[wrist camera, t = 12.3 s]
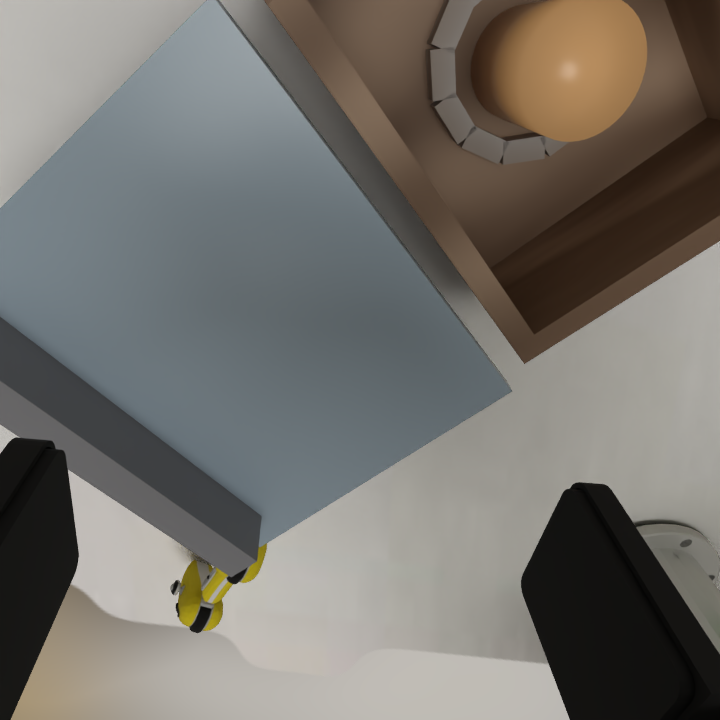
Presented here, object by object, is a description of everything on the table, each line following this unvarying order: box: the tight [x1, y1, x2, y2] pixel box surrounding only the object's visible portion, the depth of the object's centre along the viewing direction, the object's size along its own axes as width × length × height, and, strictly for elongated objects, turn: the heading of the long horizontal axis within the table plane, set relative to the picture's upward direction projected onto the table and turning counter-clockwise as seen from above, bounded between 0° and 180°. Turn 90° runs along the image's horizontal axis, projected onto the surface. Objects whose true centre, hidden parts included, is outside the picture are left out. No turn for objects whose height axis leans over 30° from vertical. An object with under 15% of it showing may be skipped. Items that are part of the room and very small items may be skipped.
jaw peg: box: [471, 0, 647, 142], centre depth 21 cm, size 4×4×6 cm
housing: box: [264, 0, 720, 364], centre depth 20 cm, size 17×14×8 cm
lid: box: [0, 0, 512, 577], centre depth 19 cm, size 17×14×3 cm
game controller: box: [170, 543, 267, 633], centre depth 34 cm, size 10×4×6 cm, turn 148°
